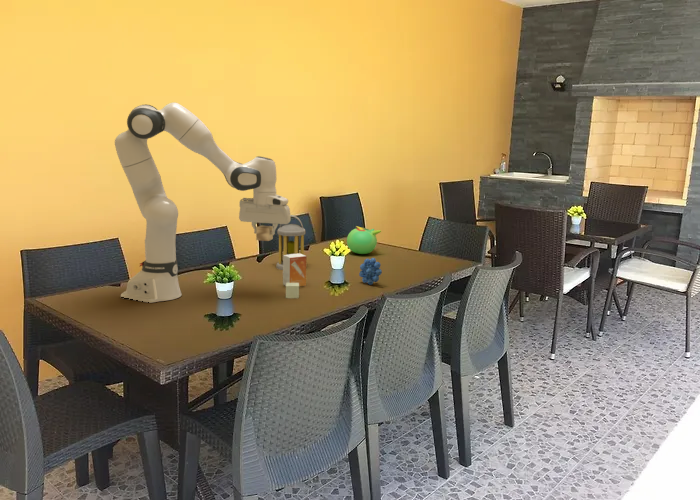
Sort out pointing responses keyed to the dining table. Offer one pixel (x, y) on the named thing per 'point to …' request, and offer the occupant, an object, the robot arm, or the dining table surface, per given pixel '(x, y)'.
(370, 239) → the green round piece
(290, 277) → the small box
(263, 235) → the beech cube
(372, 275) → the grapes
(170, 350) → the dining table surface
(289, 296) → the sage cube
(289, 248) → the lantern
